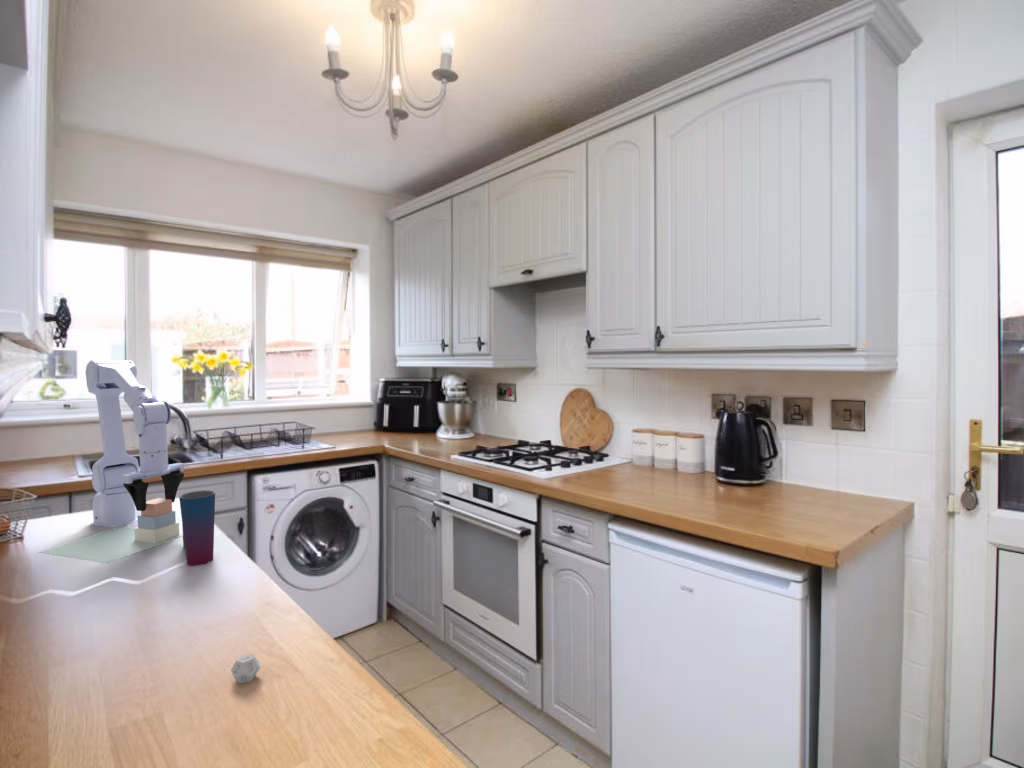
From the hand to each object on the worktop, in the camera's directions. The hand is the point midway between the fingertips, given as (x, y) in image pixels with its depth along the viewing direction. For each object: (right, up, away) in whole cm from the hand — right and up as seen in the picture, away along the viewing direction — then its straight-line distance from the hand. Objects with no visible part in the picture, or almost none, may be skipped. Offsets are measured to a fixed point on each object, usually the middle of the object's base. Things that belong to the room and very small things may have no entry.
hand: (156, 506), depth 131 cm
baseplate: (-8, -9, -3) cm, 12 cm away
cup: (+19, -9, -13) cm, 25 cm away
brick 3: (0, -8, 0) cm, 8 cm away
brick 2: (0, -5, 0) cm, 5 cm away
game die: (+50, -12, -56) cm, 76 cm away
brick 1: (0, -2, 0) cm, 2 cm away
